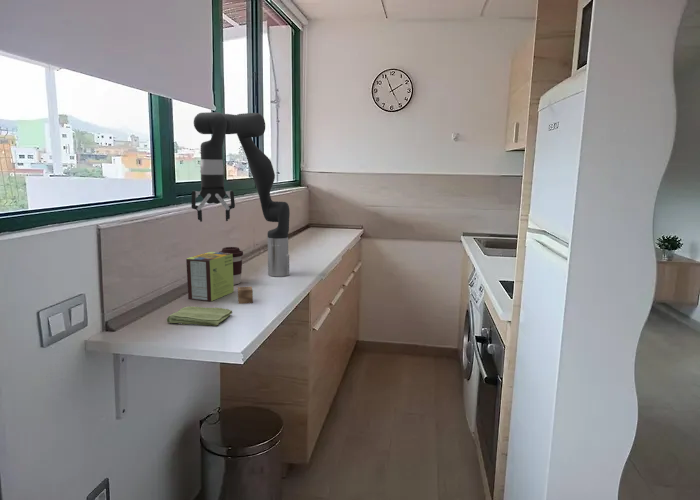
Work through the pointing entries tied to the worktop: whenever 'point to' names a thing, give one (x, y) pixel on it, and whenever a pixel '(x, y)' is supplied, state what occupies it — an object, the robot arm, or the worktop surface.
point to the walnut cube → (245, 295)
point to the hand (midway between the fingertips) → (214, 221)
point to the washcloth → (199, 316)
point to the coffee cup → (235, 262)
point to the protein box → (210, 276)
